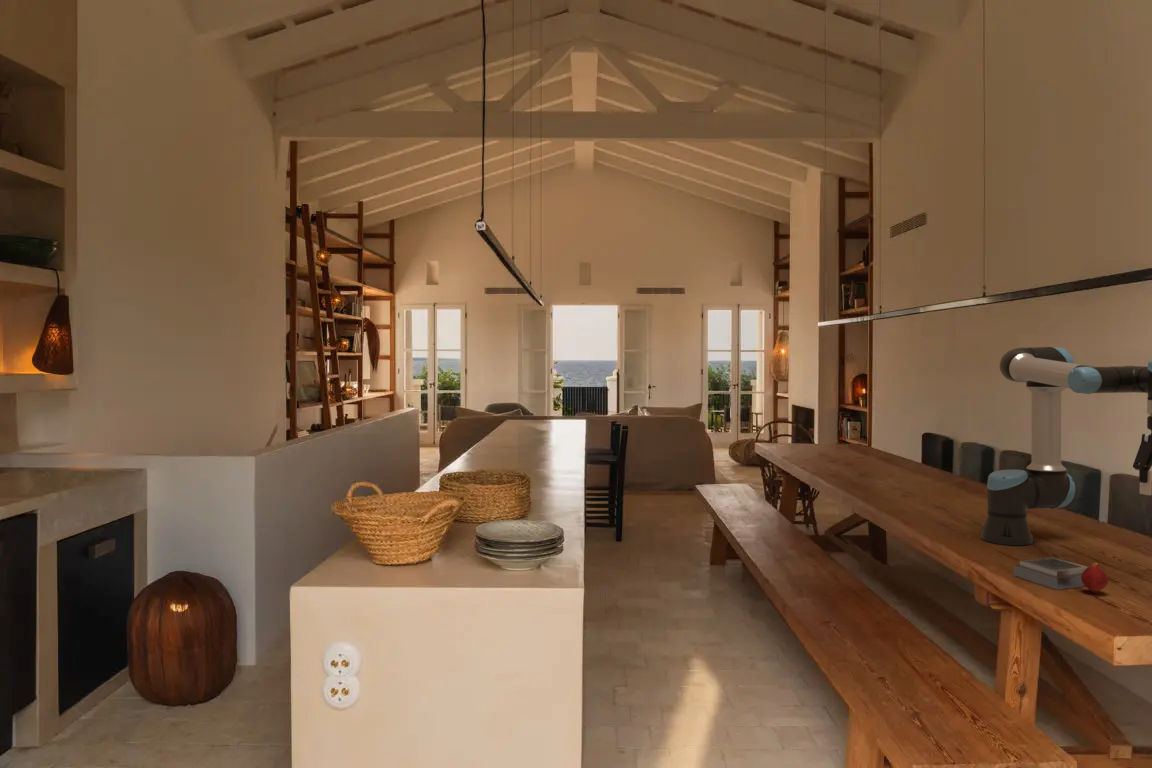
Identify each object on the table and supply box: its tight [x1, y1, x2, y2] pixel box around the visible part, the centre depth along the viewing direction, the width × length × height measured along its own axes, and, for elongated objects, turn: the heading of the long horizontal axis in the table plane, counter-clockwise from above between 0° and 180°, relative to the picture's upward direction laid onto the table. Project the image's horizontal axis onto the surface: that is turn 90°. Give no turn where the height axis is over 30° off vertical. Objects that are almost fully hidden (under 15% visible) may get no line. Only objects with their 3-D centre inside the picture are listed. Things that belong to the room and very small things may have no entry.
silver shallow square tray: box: [1013, 556, 1089, 591], centre depth 220 cm, size 14×14×4 cm
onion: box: [1081, 562, 1109, 594], centre depth 208 cm, size 6×6×8 cm
